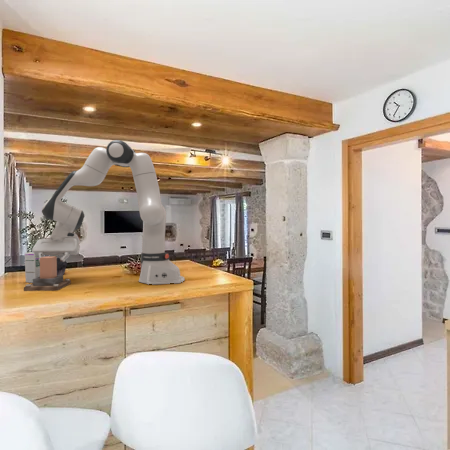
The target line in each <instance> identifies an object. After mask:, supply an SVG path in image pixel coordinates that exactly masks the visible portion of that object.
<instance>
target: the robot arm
mask: <svg viewBox="0 0 450 450" xmlns="http://www.w3.org/2000/svg"><path fill="white" fill-rule="evenodd" d="M112 166H115V167H120V168H121V167H122V168H130V171H131V172H132V173H131V174H132V177H133V181H134V186H135V190H136V191H135V192H136V196H137V203H138V210H139V216H140V219H141V220H142V222H143V227H142V229H143V230H142V235H141V254H140V263H141V269H140V275H139V279H138V282H139V283H142V284H147V285H149V284H152V285H166V284H167V285H169V284H170V283H174V284H181V282H182V283H184V282H185V276H183V275H181V271H180V267H178V266H177V264H176V263H175V264H174V262H172V261H171V260H170V255H169V253H168V252H166V224H167V211H166V208H165V206H164V205H163V204H162V198H161V193H160V192H161V191H160V186H159V181H158V178H157V173H156V168H155V166H154V164H153V160H152V158H151V156H150V155H149V154H148V153H145V152H136V151H135V149H133V148H132V146H131V145H130V144H128V143H127V142H125V141H123V140H119V139H114V140H111V141H110V142H109V143H108V144H107V146H106V148H105V147H102V146H98V147H95V148H94V149H93V150H92V151H91V152H90V154H89V155H88V157H87V158H86V160H85V162H84V164H83V165H82V166H81V168H80V169H78V170H73V171H71V172H70V173H69V174H68V175H67V176H66V177H65V179H64V180H63V181H62V182H61V184H60V185H59V186H58V187H57V189H56V191H55V192H54V193H53V194H52V196H51V197H50V198H48V199H47V200H46V201H45V202H44V203H43V205H42V208H41V214H42V216H43V217H44V218H45V219H47V220H50V221H54V222H56V223H55V226H54V229H53V230H52V232H51V235H50V236H49V238H48V237H47V238H44V237H42V238H39V239H37V241H36V243H35V244H34V246H33V247H32V248H31V252H33V253H34V254H35V255H39V257H40V258H41V257H43V256H44V257H45V256H60V261H61V262H65V261H66V260H67V259H68V258H69V257H70V256H77V255H78V254H79V252H80V249H81V246H80V243H81V241H80V238H79V236H78V234H77V233H75V232H74V231H76V230H79V229H80V228H81V226H82V225H83V221H84V218H85V213H84V211H83V210H82V209H81V208H78V207H76V206H73V205H70V204H68V203H66V202H63V201H62V199H63V198H64V196H65V195H66V194H67V193H68V191H69V190H70V189H71V188H72V187H73V186H75V187H76V186H85V187H95V186H96V187H97V186H99V185H100V184H101V183H103V181H104V180H105V178H106V176H107V174H108V172H109V170H110V169H111V168H112ZM40 258H39V262H40ZM183 281H184V282H183ZM170 285H171V284H170Z"/></svg>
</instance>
